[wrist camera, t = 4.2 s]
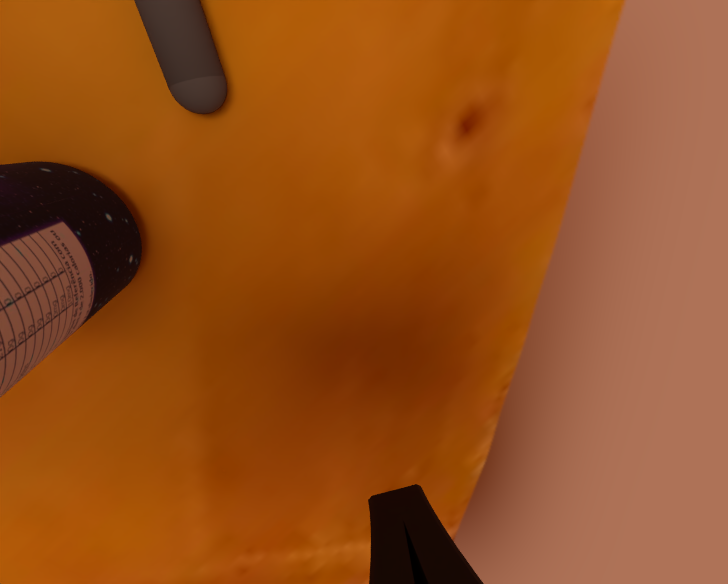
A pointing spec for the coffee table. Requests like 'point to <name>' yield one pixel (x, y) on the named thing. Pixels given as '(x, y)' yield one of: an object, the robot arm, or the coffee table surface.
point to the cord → (185, 52)
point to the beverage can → (56, 258)
